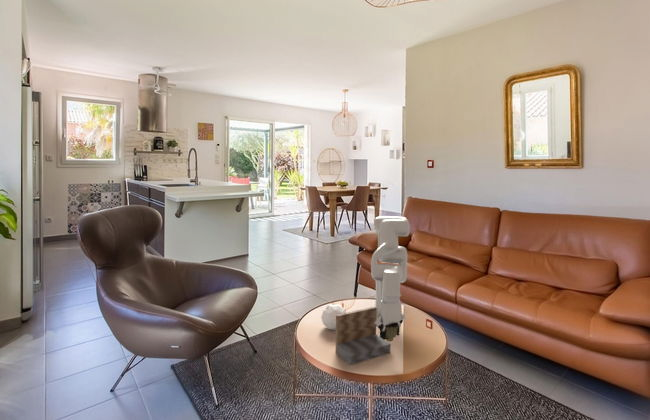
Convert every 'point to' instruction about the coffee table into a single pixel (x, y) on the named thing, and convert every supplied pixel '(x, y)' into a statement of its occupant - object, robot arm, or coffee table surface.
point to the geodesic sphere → (331, 315)
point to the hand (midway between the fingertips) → (389, 336)
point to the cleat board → (359, 336)
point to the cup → (391, 331)
